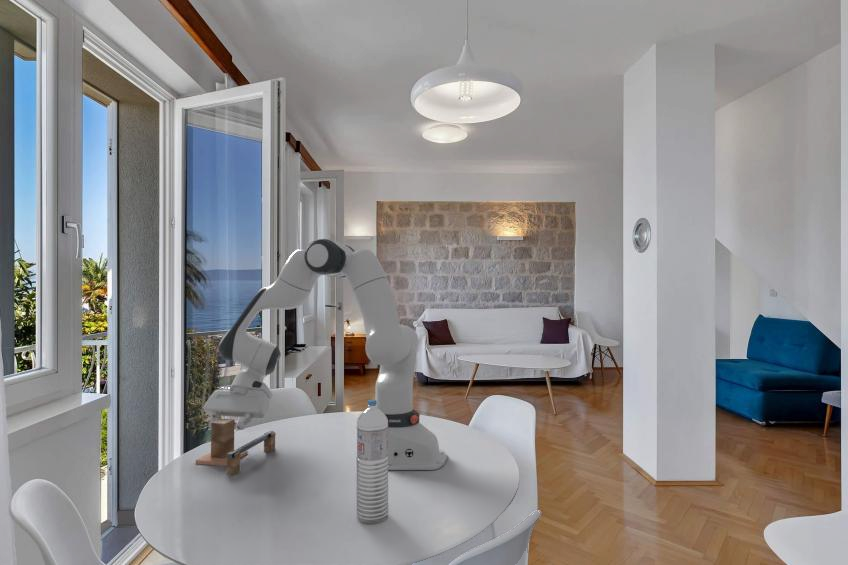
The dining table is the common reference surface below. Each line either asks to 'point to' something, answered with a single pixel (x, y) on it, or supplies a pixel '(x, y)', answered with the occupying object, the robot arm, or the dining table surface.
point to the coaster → (215, 460)
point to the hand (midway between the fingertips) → (225, 428)
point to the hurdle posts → (234, 463)
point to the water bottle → (372, 465)
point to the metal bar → (250, 444)
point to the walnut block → (222, 437)
